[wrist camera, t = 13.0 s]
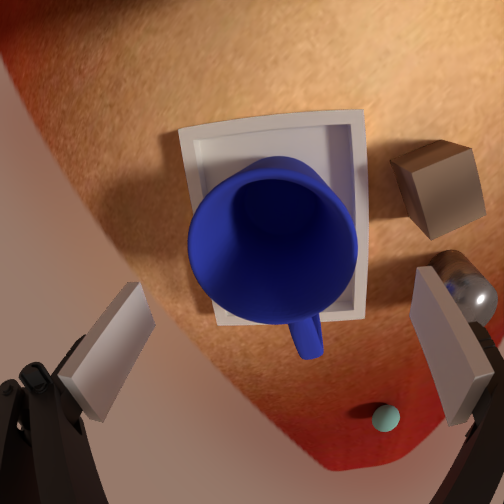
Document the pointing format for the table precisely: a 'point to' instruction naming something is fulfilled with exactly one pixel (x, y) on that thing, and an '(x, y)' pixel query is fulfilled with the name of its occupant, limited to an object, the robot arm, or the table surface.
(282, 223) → the mug
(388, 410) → the ball
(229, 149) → the tray
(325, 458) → the table surface
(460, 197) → the walnut block
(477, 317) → the tin
